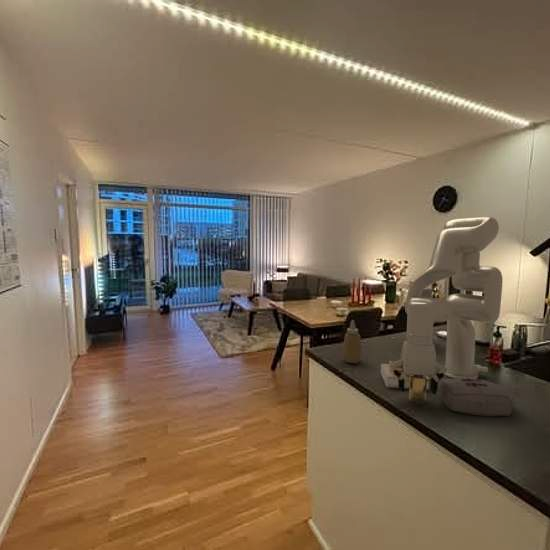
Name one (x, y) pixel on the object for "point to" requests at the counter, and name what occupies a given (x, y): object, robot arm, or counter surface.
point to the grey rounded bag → (476, 397)
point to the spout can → (417, 389)
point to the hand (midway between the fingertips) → (417, 391)
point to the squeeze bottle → (352, 345)
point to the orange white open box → (392, 379)
